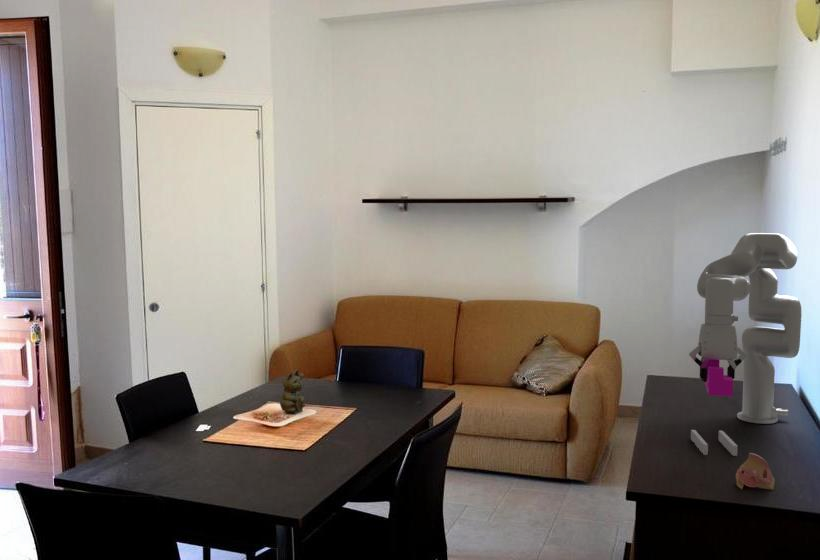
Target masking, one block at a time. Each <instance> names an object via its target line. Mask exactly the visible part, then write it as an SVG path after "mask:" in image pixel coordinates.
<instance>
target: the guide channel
mask: <svg viewBox="0 0 820 560" xmlns="http://www.w3.org/2000/svg"><path fill="white" fill-rule="evenodd" d="M690 440H691V441H692V442H694V443H695V444H694V443H693V444H694V446H696V447H697V449H698V448H699V449H698V450H699V451H700V452H701V454H702V453H703V454H702V455H704V456H709V455H708V454H709V453H708V452H709V444H708V443H707V441H705V440H704V439H703V437H702V436H701V435H700V434H699V433H698V431H697V430H696V429H690ZM718 441H719V443H720V444H721V445H722V446H723V447H724V448H725V449H726V450H727V451H728V452H729V453H730V454H731V455H732V456H733V457H734V456H735V457H738V444H737V443H736V442H734V440H733V439H732V438H731V437H730V436H728V435H727V433H726V432H725V431H723V430H718Z"/></svg>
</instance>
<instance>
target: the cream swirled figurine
mask: <svg viewBox="0 0 820 560" xmlns="http://www.w3.org/2000/svg"><path fill="white" fill-rule="evenodd" d="M735 480H736V486H737V487H738V488H740V489H741V490H743V488H744V485H745V486H747V487H749V488H760V489H766V490H767V489H768V490H774V488H775V482H776V479H775V477H774V476H773V473H772V471H771V468H770V465H769V463H768V462H767V461H766V459H764V458H763V457H762V456H760V455H758V454H756V453H753V452H749V454H748V457H747V459H746V461H744V462H743V463H742V464H741V465H740V467H739V468H737V470H736V473H735Z"/></svg>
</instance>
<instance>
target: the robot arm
mask: <svg viewBox="0 0 820 560" xmlns="http://www.w3.org/2000/svg"><path fill="white" fill-rule="evenodd" d="M797 261H798V251H797V248H796V246H795V244H794V243H793V242H792V241H791V240H790V239H789V238H788V237H787V236H785V235H784V234H781V233H777V232H776V233H774V232H773V233H771V232H770V233H766V232H760V233H759V232H751V233H746V234H744V235H743V236H742V237H740V238H739V240H738V242H737V243H736V245H735V246H734V249H733V250H732V251H731V253H730V254H729V255H726V256H723V257H721V258H719V259H716V260H714V261H711V262H710V263H708V264H707V266H706V267H705V268H704V269H703V271H702V272H701V273H700V275H699V278H698V280H697V284H696V291H697V293H698V296H699V297H701V298H703V299H705V300H704V301H705V302H704V303H705V305H704V323H702V324H701V325H700V329H699V330H700V331H699V335H698V336H699V337H698V343H697V344H698V345H697V346H696V347H695V348H694V349H692V351H690V352H689V353H688V356H689V357H690V358H691V359H692V360H693V361H694V362H695V364H697V365H698V366H699V378H700V379H701V381H702V382H704V383H705V382H706V381H707V369H706V364H707V362H708V360H709V359H714V360H719V361H720V360H723V361H725V360H727V361H726V362H727V363H728V366H727V369H726V370H727V371H726V373H727V376H729V377H732V379H733V380H734V379H735V378H736V377H735V375H736V373H735V372H736V368H737V367H738V366H740V364H742V362H743V377H742V379H743V382H742V383H743V384H742V404H741V405H742V407H741V411H738V412H737V413H736V418H738V420H740V421H743V422H747V423H751V424H759V425H761V424H764V425H770V424H775V423H778V422H779V421H778V420H779V416H789V409H783V408H777V407H775V406H774V401H775V400H774V398H775V396H774V395H775V371H776V370H775V366H774V364H773V362H772V361H771V359H770V358H769V357H776V358H785V359H793V358H795V357H797V356H798V354H799V351H800V348H801V347H800V345H801V334H802V333H801V331H802V330H801V329H802V305H801V302H800V299H798V298H797V297H796V296H791V295H783V294H781V295H780V294H778V285H779V281H778V278H777V276H776V274H775V272H774V271H773V270H792V268H794V267H795V266H796V264H797ZM747 277H748V278H747ZM748 279H749V280H748ZM747 297H748V317H749V319H750V320H751V321H753V322H756V323H763V324H772V325H773V324H775V325H782V326H783V327H784V328H780V327H772V326H771V327H770V326H760V325H759V326H758V325H757V326H756V325H755V326H749V327H747V328H745V329H744V330H743V332H742V335H741V345H742V349H741V348H740V347H738V337H737V329H736V325H735V324H734V323H735V322H738V321H739V316H737V315H734V302H735V301H736V302H740V301H742V300H744V299H746V298H747ZM697 355H698V356H700V357H701V358H698V357H697Z"/></svg>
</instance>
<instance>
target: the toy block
mask: <svg viewBox="0 0 820 560" xmlns="http://www.w3.org/2000/svg"><path fill="white" fill-rule="evenodd" d="M706 369H707V381H706V382H704V385H705V389H706V391H707V394H708V396H721V397H722V396H723V397H733V396H734V379H732V377H729V376H727V375H724V374H725V371H724V370H725V368H724V367H721V366H720V360H714V359H709V360H708V362H707V364H706Z"/></svg>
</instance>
